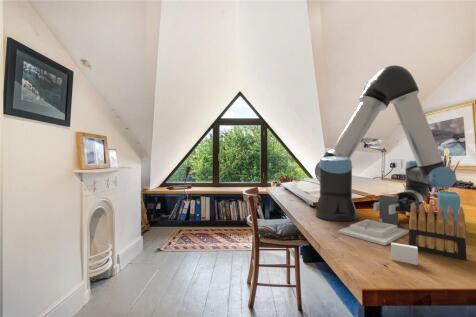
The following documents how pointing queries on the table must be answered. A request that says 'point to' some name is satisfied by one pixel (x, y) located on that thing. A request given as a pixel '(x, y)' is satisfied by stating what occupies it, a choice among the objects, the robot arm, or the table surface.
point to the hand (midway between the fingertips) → (382, 208)
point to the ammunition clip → (438, 232)
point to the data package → (449, 204)
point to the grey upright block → (384, 209)
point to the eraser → (404, 253)
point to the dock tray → (374, 231)
